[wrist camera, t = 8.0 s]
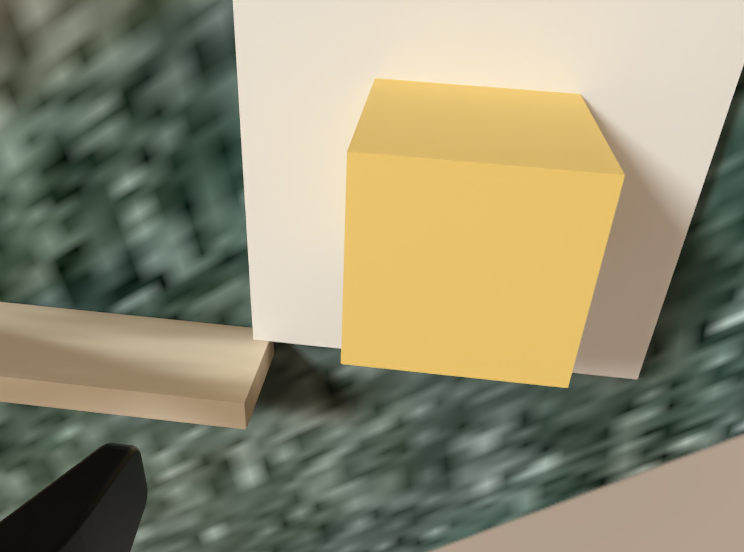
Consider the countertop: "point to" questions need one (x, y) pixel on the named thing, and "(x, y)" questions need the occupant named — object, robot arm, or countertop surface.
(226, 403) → the bracket
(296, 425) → the countertop surface
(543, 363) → the block
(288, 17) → the mat
